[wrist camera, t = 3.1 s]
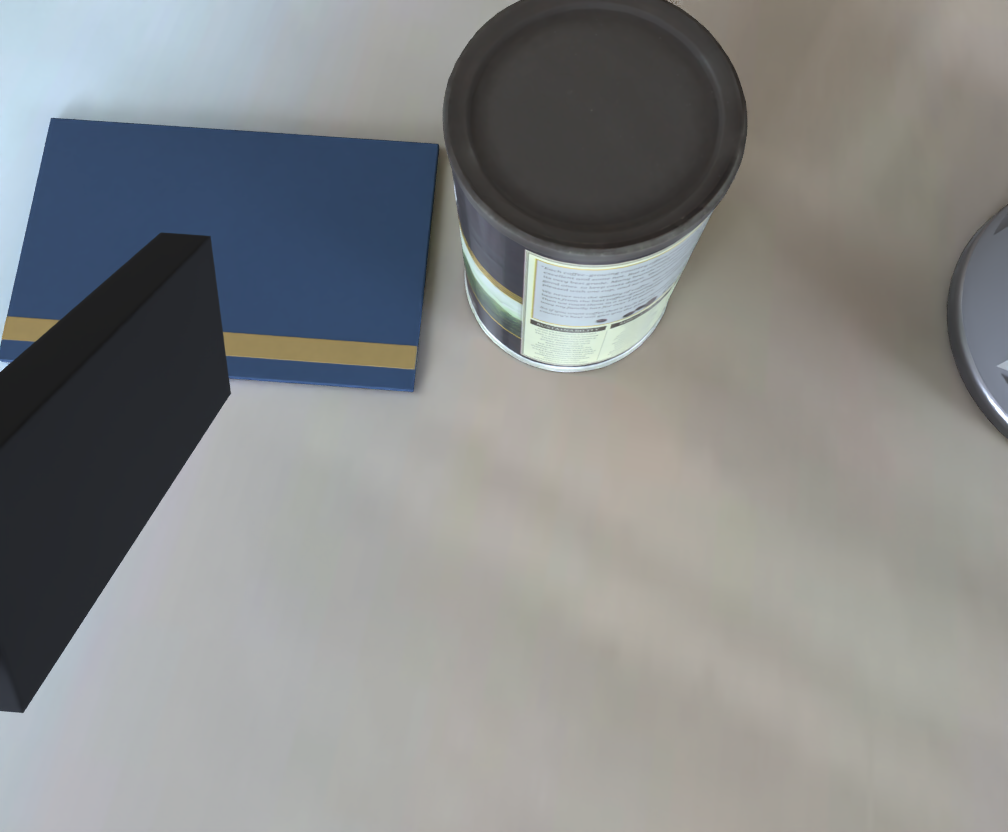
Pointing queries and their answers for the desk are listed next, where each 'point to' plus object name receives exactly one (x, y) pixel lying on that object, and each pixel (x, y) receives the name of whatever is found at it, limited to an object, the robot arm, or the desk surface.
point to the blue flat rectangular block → (243, 240)
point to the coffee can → (586, 170)
